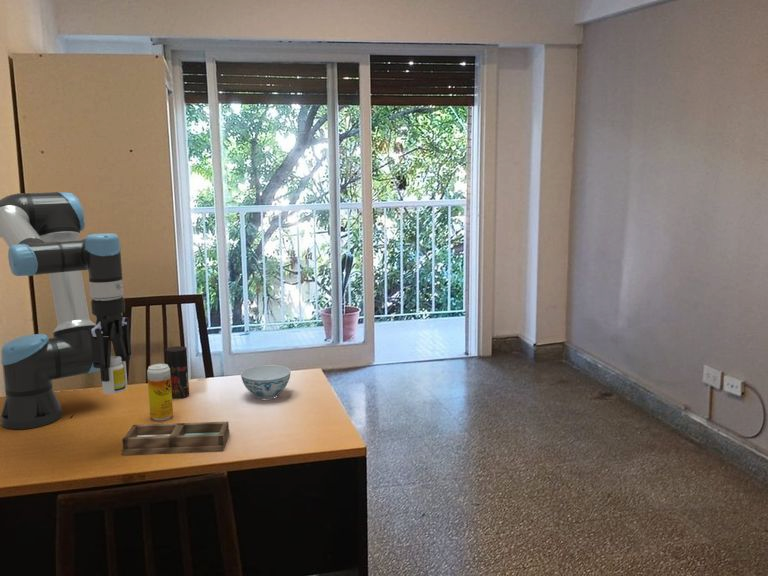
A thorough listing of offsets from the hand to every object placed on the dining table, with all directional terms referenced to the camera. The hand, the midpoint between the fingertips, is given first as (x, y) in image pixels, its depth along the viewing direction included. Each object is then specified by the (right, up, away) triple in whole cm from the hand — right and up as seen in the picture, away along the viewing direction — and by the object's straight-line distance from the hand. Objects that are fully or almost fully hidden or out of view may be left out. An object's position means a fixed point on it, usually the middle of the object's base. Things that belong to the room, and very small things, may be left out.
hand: (115, 389), depth 166 cm
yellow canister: (+4, -11, +23) cm, 26 cm away
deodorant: (+4, -8, +40) cm, 41 cm away
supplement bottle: (0, 0, 0) cm, 1 cm away
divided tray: (+14, -15, +5) cm, 21 cm away
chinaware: (+31, -8, +40) cm, 51 cm away
